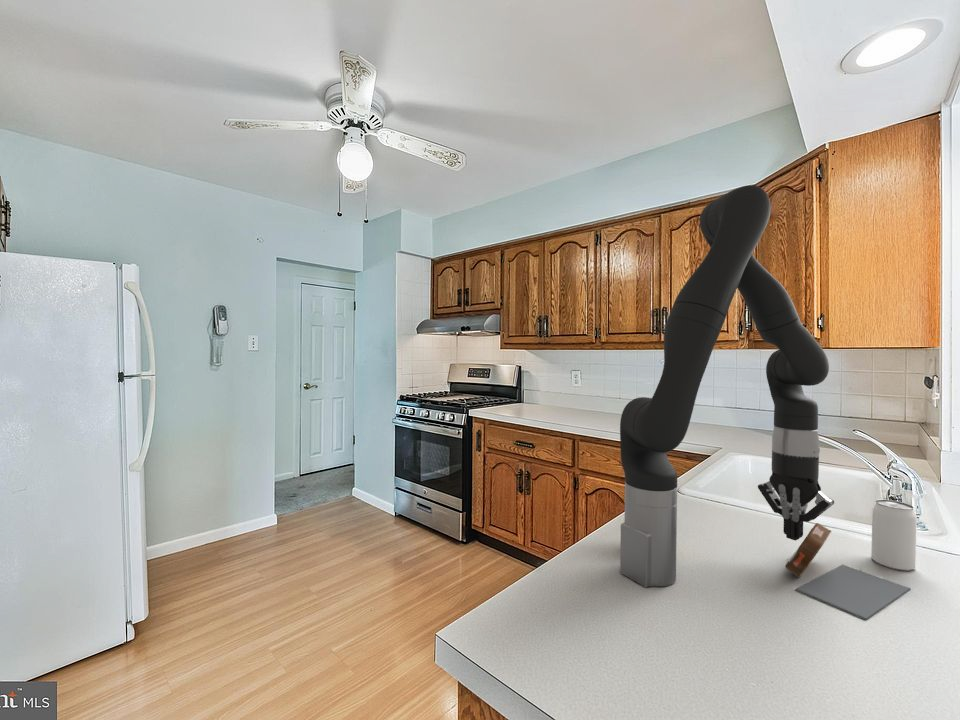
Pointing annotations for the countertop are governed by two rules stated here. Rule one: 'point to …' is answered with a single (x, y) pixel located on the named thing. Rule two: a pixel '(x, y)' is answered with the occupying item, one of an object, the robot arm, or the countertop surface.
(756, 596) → the countertop surface
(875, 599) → the mat
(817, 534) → the tin
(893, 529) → the can
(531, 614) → the countertop surface
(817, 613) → the countertop surface
